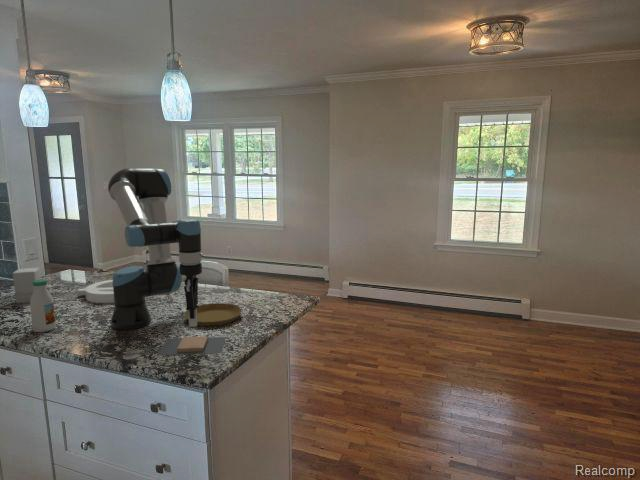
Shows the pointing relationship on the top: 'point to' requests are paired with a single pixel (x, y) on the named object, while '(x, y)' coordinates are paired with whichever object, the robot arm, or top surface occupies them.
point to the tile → (192, 344)
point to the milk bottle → (42, 308)
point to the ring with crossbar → (99, 292)
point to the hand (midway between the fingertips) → (193, 325)
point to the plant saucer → (216, 314)
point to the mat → (211, 347)
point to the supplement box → (25, 283)
